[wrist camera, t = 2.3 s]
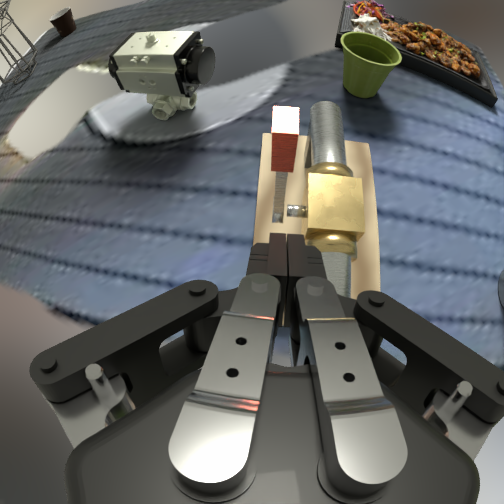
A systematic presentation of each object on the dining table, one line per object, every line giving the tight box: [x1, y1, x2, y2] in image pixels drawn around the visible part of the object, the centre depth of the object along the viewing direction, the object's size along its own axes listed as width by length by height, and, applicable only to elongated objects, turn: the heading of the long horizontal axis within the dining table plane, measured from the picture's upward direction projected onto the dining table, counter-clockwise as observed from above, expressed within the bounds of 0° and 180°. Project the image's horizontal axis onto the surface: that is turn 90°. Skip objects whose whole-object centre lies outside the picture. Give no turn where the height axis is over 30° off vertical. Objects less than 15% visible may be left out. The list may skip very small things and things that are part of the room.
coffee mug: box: [50, 7, 76, 37], centre depth 67 cm, size 12×9×10 cm
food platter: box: [335, 0, 498, 108], centre depth 54 cm, size 45×25×10 cm, turn 73°
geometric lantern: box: [0, 0, 38, 84], centre depth 48 cm, size 16×16×35 cm
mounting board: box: [253, 133, 380, 325], centre depth 43 cm, size 18×30×2 cm, turn 175°
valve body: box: [287, 101, 365, 298], centre depth 37 cm, size 8×26×12 cm, turn 175°
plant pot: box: [341, 32, 402, 98], centre depth 47 cm, size 12×12×11 cm
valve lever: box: [271, 106, 299, 224], centre depth 27 cm, size 2×3×16 cm, turn 175°
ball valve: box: [108, 31, 215, 120], centre depth 44 cm, size 18×8×18 cm, turn 71°
